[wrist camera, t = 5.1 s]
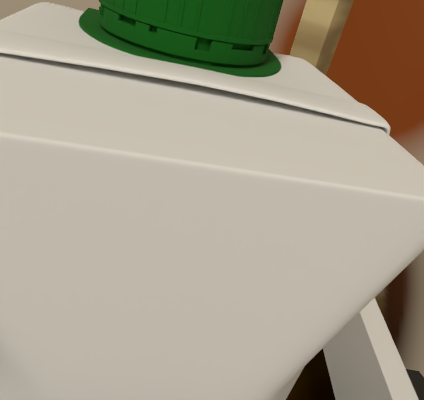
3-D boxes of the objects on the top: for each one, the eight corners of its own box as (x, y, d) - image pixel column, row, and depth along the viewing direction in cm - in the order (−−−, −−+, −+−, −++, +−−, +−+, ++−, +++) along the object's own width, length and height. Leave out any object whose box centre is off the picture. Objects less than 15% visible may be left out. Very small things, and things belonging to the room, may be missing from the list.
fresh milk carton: (201, 389, 22) (345, -15, 11) (220, 628, 14) (700, 74, 4) (30, 383, 20) (16, -103, 10) (-51, 653, 12) (-521, -257, 2)
